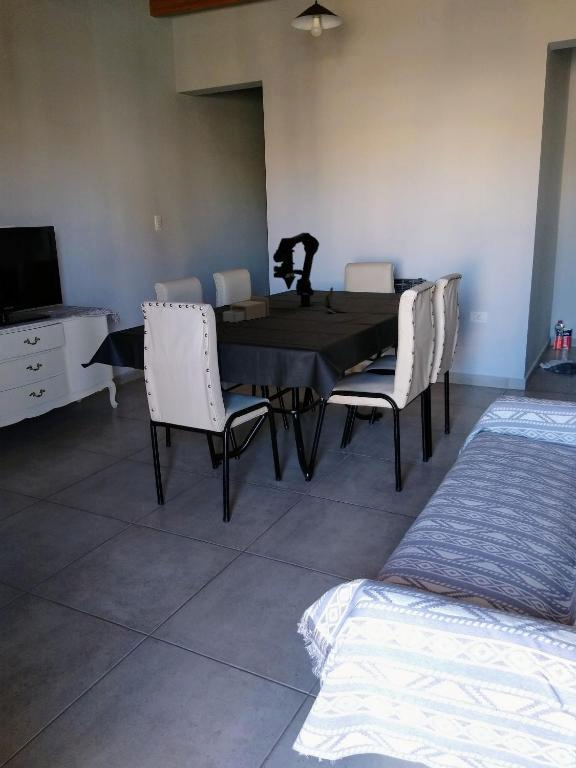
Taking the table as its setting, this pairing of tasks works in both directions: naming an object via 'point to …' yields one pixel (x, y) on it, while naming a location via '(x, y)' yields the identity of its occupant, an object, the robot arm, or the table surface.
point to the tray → (244, 311)
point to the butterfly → (329, 302)
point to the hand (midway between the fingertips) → (288, 289)
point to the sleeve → (251, 309)
